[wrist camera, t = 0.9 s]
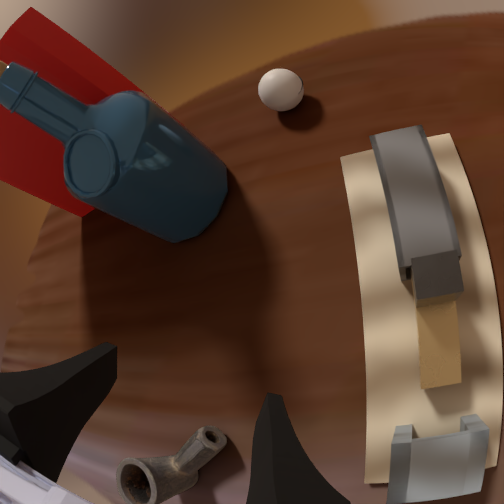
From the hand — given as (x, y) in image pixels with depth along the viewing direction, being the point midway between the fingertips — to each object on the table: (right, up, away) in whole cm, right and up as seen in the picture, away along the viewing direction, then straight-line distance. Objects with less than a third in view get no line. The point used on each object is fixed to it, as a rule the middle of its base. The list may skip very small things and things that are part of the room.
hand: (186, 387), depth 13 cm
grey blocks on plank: (+18, +2, +10) cm, 21 cm away
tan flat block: (+17, +5, +9) cm, 20 cm away
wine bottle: (-5, +13, +27) cm, 31 cm away
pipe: (-3, -18, +16) cm, 24 cm away
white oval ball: (+8, +26, +24) cm, 37 cm away
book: (-19, +20, +38) cm, 47 cm away
